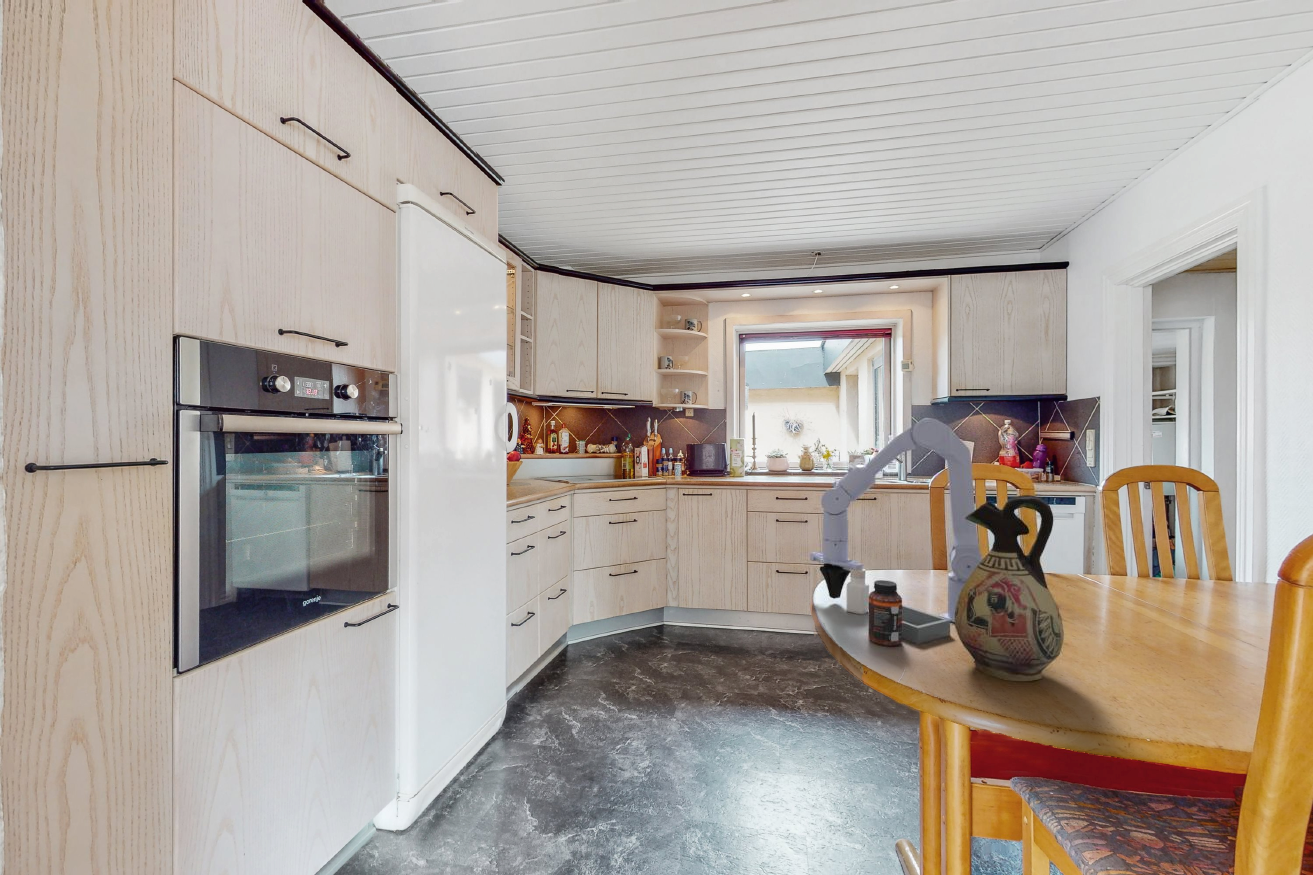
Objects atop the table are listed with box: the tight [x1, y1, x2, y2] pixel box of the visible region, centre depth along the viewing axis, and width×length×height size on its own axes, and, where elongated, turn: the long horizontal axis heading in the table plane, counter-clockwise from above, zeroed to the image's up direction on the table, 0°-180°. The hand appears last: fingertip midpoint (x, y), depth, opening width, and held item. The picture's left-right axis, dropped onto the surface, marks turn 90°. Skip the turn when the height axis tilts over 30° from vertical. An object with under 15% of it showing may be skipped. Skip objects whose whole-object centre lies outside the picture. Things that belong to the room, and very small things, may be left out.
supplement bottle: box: [867, 579, 903, 647], centre depth 106 cm, size 6×6×11 cm
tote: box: [902, 604, 951, 645], centre depth 111 cm, size 10×11×3 cm
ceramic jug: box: [954, 494, 1065, 682], centre depth 92 cm, size 17×15×30 cm
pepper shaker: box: [846, 568, 870, 615], centre depth 123 cm, size 4×4×10 cm
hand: (834, 597), depth 129 cm, fingers closed
